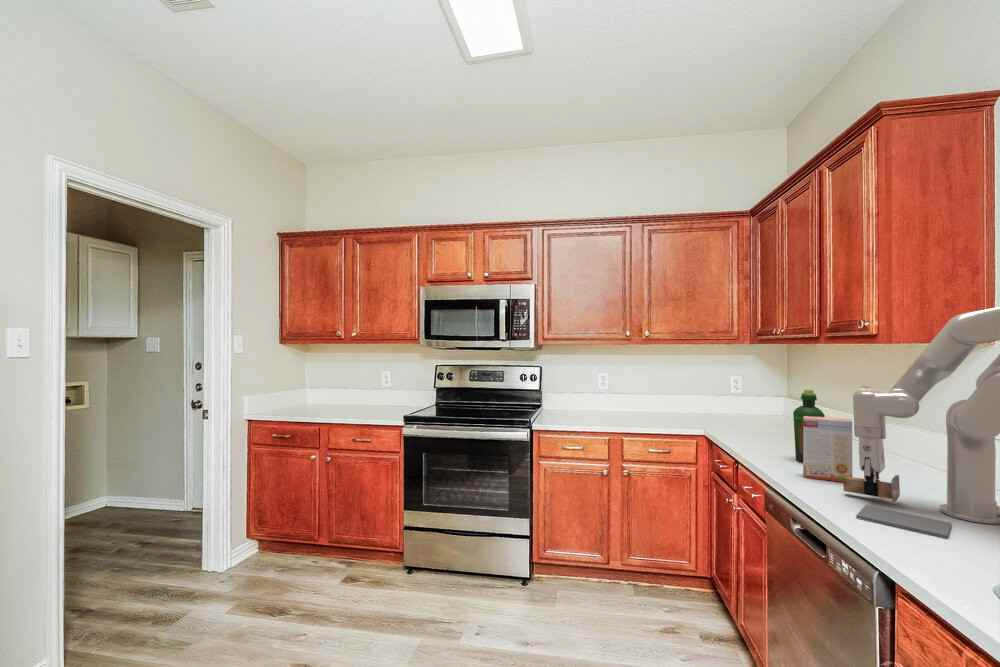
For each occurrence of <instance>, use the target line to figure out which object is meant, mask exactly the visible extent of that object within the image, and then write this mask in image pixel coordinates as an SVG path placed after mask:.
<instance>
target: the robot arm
mask: <svg viewBox="0 0 1000 667" xmlns="http://www.w3.org/2000/svg"><path fill="white" fill-rule="evenodd" d="M997 341H998V342H999V341H1000V306H996V307H992V308H991V307H990V308H987V309H981V310H976V311H970V312H964V313H960V314H957V315H954V316H953V317H951V318H950V319H949V320H948V321H947V322H946V323H945V325H944V326H943V327H942V329H940V331H939V332H938V333H937V334H936V335H935V337H933V339H932V340H931V341H930V342H929V344H927V346H926V347H925V348H924V349H923V351H922V352H921V353H920V355H919V356H917V357H916V358H915V360H914V361H913V362H912V364H911V366H910V367H909V368H908V369H907V370H906V371H905V372H903V374H902V376H901V377H900V378H898V380H897V381H896V382H895V384H894V385H893V386H892V387H891V388H890V389H889V391H888V392H886V393H885V392H880V391H876V390H857V391H855V392H854V393H853V394H852V396H853V397H852V401H853V403H852V404H853V424H854V425H853V427H854V428H853V430H854V432H853V434H854V437H856V438H858V463H859V469H860V471H862V472H863V479H864V494H865V496H871V497H876V498H878V497H877V496H878V483H876V481H881V480H880V474H881V473H882V472H883V471H884V470H885V469H886V458H885V448H884V447H885V446H884V440H885V439H886V438H887V432H886V430H887V429H886V417H890V418H897V419H908V418H910V419H911V418H913V417H914V416H915V415H917V414H918V413H919V410H920V402H921V401H922V400H923V399H924V398H925V396H926V395H927V394H928V393H929V392H930V391H931V390H932V389H933V388H934V387H935V386H936V385H937V384H939V383H940V382H942V381H943V380H945V379H947V378H949V377H950V376H951V375H952V374H954V372H955V371H956V370H957V369H958V368H959V367H960V366H961V365H962V364H963V362H964V361H965V360H966V359H967V358H968V357H969V356H970V354H972V352H973V351H974V350H975V349H976V348H977V347H978V345H980V344H985V343H986V344H987V343H992V342H997ZM945 426H946V428H945V429H946V439H947V440H946V445H947V447H946V448H947V451H946V452H947V454H946V457H947V458H946V503H942V504H940V505H939V507H938V508H939V511H940V512H942V513H943V514H944V515H947V516H950V517H952V518H956V519H960V520H964V521H968V522H972V523H973V522H974V523H981V524H991V525H996V524H1000V505H998V501H996V458H997V456H996V453H997V452H996V440H995V438H996V437H998V436H999V435H1000V353H999V354H998V355H997V356H996V357H995V359H994V360H993V361H992V362H991V363H990V364H989V366H987V368H986V369H985V370H983V372H982V373H981V374H980V375H978V377H977V379H976V382H975V390H974V391H973V392H972V393H971V394H970V396H969V397H968V398H967V399H962V400H961V399H960V400H958V401H954V403H952V404H951V405H950V406H949V407H948V409H947V411H946V414H945ZM864 494H863V495H864Z"/></svg>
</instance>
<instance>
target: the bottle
mask: <svg viewBox="0 0 1000 667" xmlns="http://www.w3.org/2000/svg"><path fill="white" fill-rule="evenodd" d="M814 391H815V390H813V389H804V390H803V392H802V393H801V396H800V400H802V401H801V402H802V405H800V406H798V407H796V408H795V409H794V410H793V415H792V416H793V430H794V431H793V432H794V433H793V434H794V451H795V452H794V453H795V460H796V461H797V462H799V463H802V464H803V418H804V416H813V417H825V414H824V412H823V411H822V409H820V408H819V407H817V406H816V401H817V400H818V398H817V394H816V393H814Z"/></svg>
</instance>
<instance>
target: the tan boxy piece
mask: <svg viewBox="0 0 1000 667" xmlns="http://www.w3.org/2000/svg"><path fill="white" fill-rule="evenodd" d="M842 483H843V492H847V493H852V494H858V495H865V494H864V478H861V477H854V476H852V477H848V476H845V477H844V478H843V482H842ZM876 483H878V496H877V497H876V498H884V499H889V500H891V502H894V503H896V502H897V501H898V499H899V498H900V497H901V492H900V490H901V488H900V475H899V474H898V475H897V474H895V475H894V476H893V477H892V478H891V481H890V482H888V481H881V480H880V481H876ZM865 496H866V495H865Z"/></svg>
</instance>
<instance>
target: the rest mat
mask: <svg viewBox="0 0 1000 667" xmlns="http://www.w3.org/2000/svg"><path fill="white" fill-rule="evenodd" d="M855 517H856V519H857V518H861V519H860V520H862V519H865V520H864V521H866V520H869V521H868V522H870V521H873V522H872V523H875V522H876V523H875V524H879V523H880V525H884V526H889V527H892V526H893V528H897V529H903V530H906V531H911V532H915V533H919V534H924V535H929V536H933V537H937V538H941V539H946V540H948V537H949V536H950V535H949V534H950V531H951V528H952V522H949V521H943V520H940V519H934V518H930V517H924V516H919V515H916V514H910V513H906V512H902V511H896V510H891V509H886V508H881V507H877V506H873V505H872V506H871V505H867V504H865V505H864V506H863V507H862V508H861V509H860V511H859V512H858V513H857V514H856V515H855Z"/></svg>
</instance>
